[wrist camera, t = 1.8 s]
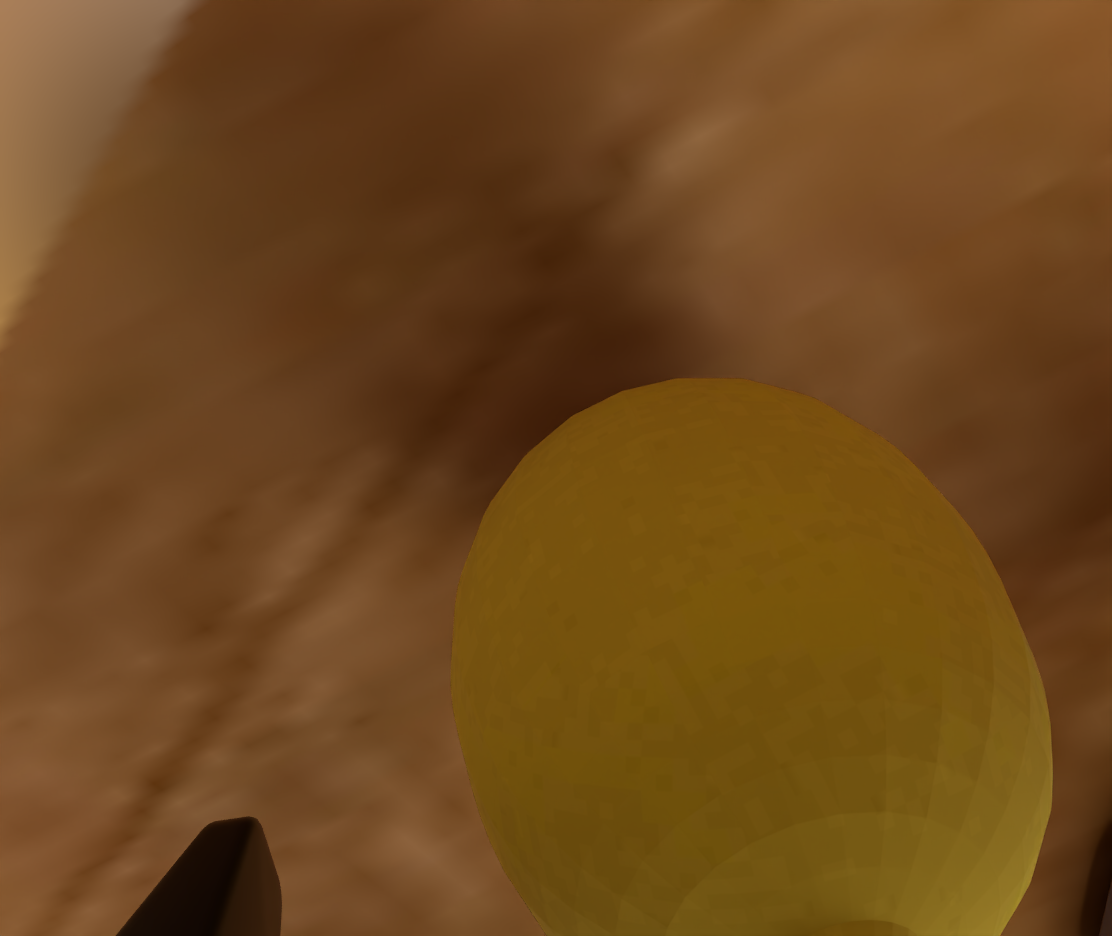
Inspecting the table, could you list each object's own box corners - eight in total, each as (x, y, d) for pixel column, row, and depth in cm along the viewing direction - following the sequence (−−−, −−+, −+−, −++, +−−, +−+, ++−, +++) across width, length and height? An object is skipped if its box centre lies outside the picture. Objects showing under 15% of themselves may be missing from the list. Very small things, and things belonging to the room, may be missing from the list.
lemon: (741, 204, 12) (1164, 544, 5) (897, 529, 15) (1331, 1068, 7) (365, 426, 13) (277, 987, 6) (572, 699, 15) (687, 1328, 8)
